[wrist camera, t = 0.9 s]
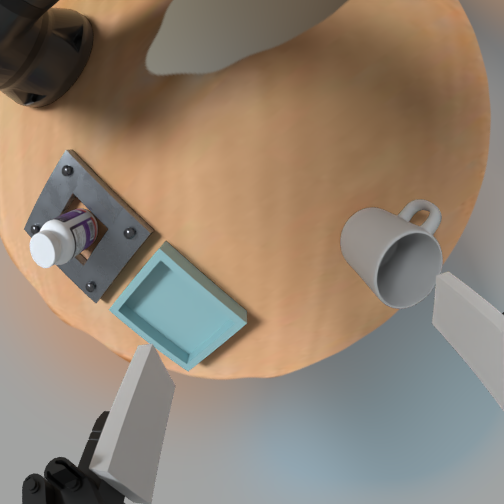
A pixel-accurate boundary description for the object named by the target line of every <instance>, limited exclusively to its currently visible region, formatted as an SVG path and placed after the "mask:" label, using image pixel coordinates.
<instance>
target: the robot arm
mask: <svg viewBox="0 0 504 504" xmlns="http://www.w3.org/2000/svg"><path fill="white" fill-rule="evenodd" d="M58 1H59V0H0V91H1V92H3V93H4V94H6V95H7V96H8V97H10V98H11V99H12V100H14V101H15V102H16V103H18V104H20V105H23V106H30V107H41V106H45V105H48V104H50V103H52V102H54V101H55V100H57V99H58V98H59V97H61V96H62V95H63V94H64V93H65V92H66V91H67V90H68V89H69V88H70V87H71V86H72V85H73V84H74V82H75V81H76V80H77V78H78V77H79V75H80V74H81V72H82V70H83V69H84V67H85V65H86V63H87V60H88V58H89V55H90V52H91V49H92V43H93V30H92V26H91V24H90V22H89V21H88V19H87V18H85V17H84V16H83V15H81V14H80V13H78V12H77V11H74V10H71V9H62V8H51V7H52V6H53V5H54V4H56V3H57V2H58ZM432 324H433V325H434V327H436V329H437V330H438V331H439V332H440V333H441V334H442V335H443V337H444V338H445V339H446V340H447V341H448V342H449V343H450V344H451V346H452V347H453V348H454V349H455V350H456V351H457V353H458V354H459V355H460V356H461V357H462V359H463V360H464V361H465V362H466V363H467V365H468V366H469V367H470V368H471V370H472V371H473V372H474V373H475V374H476V375H477V377H478V378H479V379H480V381H481V382H482V383H483V385H484V386H485V387H486V388H487V389H488V391H489V392H490V394H491V395H492V396H493V398H494V399H495V400H496V402H497V403H498V404H499V405H500V407H501V408H502V410H503V411H504V312H503V313H501V312H499V311H498V310H497V309H496V308H495V307H493V306H492V305H491V304H490V303H489V302H487V301H486V300H485V299H484V298H482V297H481V296H480V295H479V294H477V293H476V292H475V291H473V290H472V289H471V288H470V287H468V286H467V285H466V284H465V283H463V282H462V281H461V280H459V279H458V278H457V277H455V276H454V275H453V274H451V273H450V272H445V273H442V274H440V275H437V276H436V288H435V301H434V309H433V318H432ZM174 390H175V384H174V382H173V380H172V379H171V377H170V375H169V374H168V372H167V370H166V368H165V366H164V364H163V362H162V360H161V359H160V357H159V355H158V353H157V351H156V349H155V347H154V345H153V344H146V345H139V346H138V347H137V349H136V352H135V354H134V356H133V358H132V360H131V363H130V365H129V367H128V370H127V372H126V374H125V377H124V379H123V381H122V383H121V386H120V388H119V391H118V393H117V395H116V398H115V400H114V403H113V405H112V408H111V410H110V411H104V412H103V413H102V414H101V415H100V416H99V418H98V419H97V420H96V422H95V425H94V427H93V429H92V433H91V434H90V437H89V440H88V442H87V444H86V447H85V449H84V452H83V455H82V457H81V460H80V462H79V465H78V467H76V466H75V465H74V464H73V463H71V462H70V461H69V460H68V459H66V458H64V457H58V458H54V459H53V460H52V461H50V462H49V463H48V465H47V466H46V468H45V471H44V478H43V477H42V476H41V475H39V474H31V475H29V476H28V477H27V478H26V479H25V481H24V482H23V487H22V488H23V489H22V502H23V503H22V504H125V503H124V498H125V497H127V498H128V499H130V500H131V501H133V502H136V503H143V504H151V502H152V497H153V491H154V486H155V479H156V475H157V470H158V464H159V459H160V454H161V449H162V444H163V440H164V435H165V430H166V426H167V421H168V417H169V412H170V407H171V403H172V399H173V394H174ZM47 480H48V481H47Z"/></svg>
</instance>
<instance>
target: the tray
mask: <svg viewBox="0 0 504 504" xmlns="http://www.w3.org/2000/svg"><path fill="white" fill-rule="evenodd" d="M109 311H111V312H112V313H113V314H114V315H115V316H116V317H118V318H119V319H120V320H121V321H122V322H124V323H125V324H126V325H127V326H128V327H130V328H131V329H132V330H133V331H134V332H136V333H137V334H138V335H139V336H141V337H142V338H143V339H145V340H146V341H147V342H148V343H150V344H153V345H154V347H155V348H156V349H158V350H159V351H160V352H162V353H163V354H164V355H166V356H167V357H168V358H170V359H171V360H172V361H174V362H175V363H177V364H178V365H179V366H181V367H182V368H184V369H185V370H187V371H189V370H190V369H192V368H193V367H194V366H196V365H197V364H198V363H199V362H201V361H202V360H203V359H204V358H206V357H207V356H208V355H209V354H211V353H212V352H213V351H214V350H215V349H217V348H218V347H219V346H220V345H222V344H223V343H224V342H225V341H226V340H228V339H229V338H230V337H231V336H233V335H234V334H235V333H236V332H237V331H239V330H240V329H241V328H242V327H243V326H245V325H246V324H247V311H246V310H245V309H244V308H242V307H241V306H240V305H239V304H238V303H236V302H235V301H234V300H233V299H232V298H231V297H229V296H228V295H227V294H226V293H225V292H224V291H222V290H221V289H220V288H219V287H218V286H216V285H215V284H214V283H213V282H212V281H211V280H210V279H208V278H207V277H206V276H205V275H204V274H203V273H202V272H200V271H199V270H198V269H197V268H196V267H195V266H194V265H192V264H191V263H190V262H189V261H188V260H187V259H186V258H185V257H183V256H182V255H181V254H180V253H179V252H178V251H177V250H176V249H175V248H173V247H172V246H171V245H170V244H169V243H168V242H167V241H165V242H164V244H163V245H162V246H161V247H160V248H159V249H158V250H157V252H156V253H155V254H154V255H153V256H152V257H151V259H150V260H149V261H148V262H147V263H146V265H145V266H144V267H143V268H142V269H141V271H140V272H139V273H138V274H137V275H136V277H135V278H134V279H133V280H132V281H131V283H130V284H129V285H128V286H127V288H126V289H125V290H124V291H123V293H122V294H121V295H120V296H119V298H118V299H117V300H116V301H115V303H114V304H113V305H112V307H111V308H110V309H109Z"/></svg>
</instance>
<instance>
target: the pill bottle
mask: <svg viewBox="0 0 504 504" xmlns="http://www.w3.org/2000/svg"><path fill="white" fill-rule="evenodd" d="M97 235H98V225H97V221H96V219H95V217H94V216H93V215H92V213H90V212H89V211H88V210H86V209H82V208H79V209H75V210H72V211H70V212H68V213H65V214H63V215H61V216H58V217H56V218H54V219H52V220H50V221H48V222H46V223H45V224H44V225H43V226H42V228H41V230H40V232H38V233H37V234H35V235H34V236H33V237H32V238H31V241H30V252H31V255H32V257H33V259H34V261H35V262H36V263H37V264H38V265H39V266H41V267H43V268H49V267H51V266H52V265H54V264H56V265H62V264H65V263H67V262H68V261H70V260H71V259H72V258H74V257H75V256H76V255H78V254H79V253H81V252H82V251H83V250H85V249H86V248H88V247H89V246H90V245H92V244H93V243H94V242H95V240H96V238H97Z"/></svg>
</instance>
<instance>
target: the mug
mask: <svg viewBox="0 0 504 504" xmlns="http://www.w3.org/2000/svg"><path fill="white" fill-rule="evenodd" d="M420 210H426V211H429V212H430V214H429V216H428V218H427V220H426V221H425V222H424V223H423V224H422V225H421V226H417V225H415V224H412V223H410V222H409V221H410V220H411V218H412V217H413V215H414V214H415V213H416V212H418V211H420ZM441 218H442V216H441V212H440V210H439V208H438V207H437V206H436V205H434V204H433V203H431V202H429V201H427V200H422V199H417V200H413V201H411V202H410V203H408V204H407V205H406V206H405V207H404V208H403V210H402V211H401V212H400V213H399V214H398V215H395V214H392V213H390V212H388V211H386V210H383V209H380V208H376V207H370V208H365V209H362V210H360V211H358V212H356V213H355V214H353V215H352V216H351V217H350V218H349V219H348V221H347V222H346V224H345V226H344V228H343V230H342V233H341V239H340V246H341V251H342V254H343V256H344V258H345V260H346V261H347V263H348V264H349V265H350V266H351V267H352V268H353V269H354V270H355V271H356V272H357V274H358V275H359V276H360V277H361V278H362V279H363V280H364V282H365V283H366V284H367V285H368V286H369V288H370V289H371V290H372V291H373V292H374V294H375V295H376V296H377V297H378V298H379V299H380V300H381V301H382V302H383V303H384V304H385V305H387V306H389V307H392V308H397V309H403V308H408V307H411V306H413V305H416V304H417V303H419V302H421V301H422V300H423V299H425V298H426V297H427V296H428V295H429V294H430V292H431V291H432V290H433V288H434V287H435V285H436V276H437V275H440V274H441V270H442V262H443V258H442V251H441V247H440V245H439V243H438V241H437V240H436V239H435V238H434V236H433V234H434V233H435V231H436V230H437V228H438V226H439V224H440V222H441Z"/></svg>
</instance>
